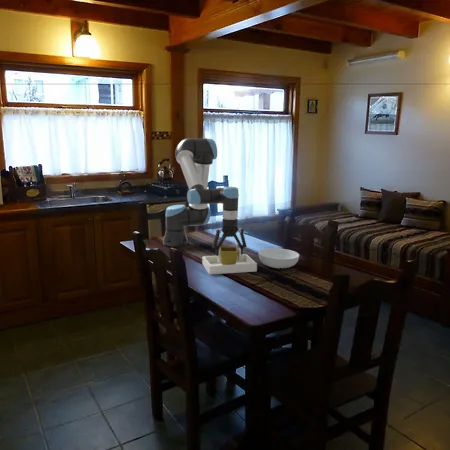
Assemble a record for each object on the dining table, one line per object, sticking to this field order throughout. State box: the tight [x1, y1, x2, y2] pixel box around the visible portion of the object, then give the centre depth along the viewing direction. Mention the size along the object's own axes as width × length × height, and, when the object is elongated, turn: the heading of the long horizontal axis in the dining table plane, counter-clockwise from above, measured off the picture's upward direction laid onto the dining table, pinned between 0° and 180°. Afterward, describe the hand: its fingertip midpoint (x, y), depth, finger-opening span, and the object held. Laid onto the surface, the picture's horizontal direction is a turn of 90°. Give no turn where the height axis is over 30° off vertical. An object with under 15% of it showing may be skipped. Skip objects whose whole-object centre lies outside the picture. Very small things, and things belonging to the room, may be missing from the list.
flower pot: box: [219, 246, 238, 265], centre depth 216 cm, size 9×9×9 cm
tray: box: [201, 253, 258, 275], centre depth 217 cm, size 17×24×4 cm
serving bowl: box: [258, 247, 300, 269], centre depth 221 cm, size 21×21×7 cm
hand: (229, 261), depth 217 cm, fingers open, 10 cm apart
